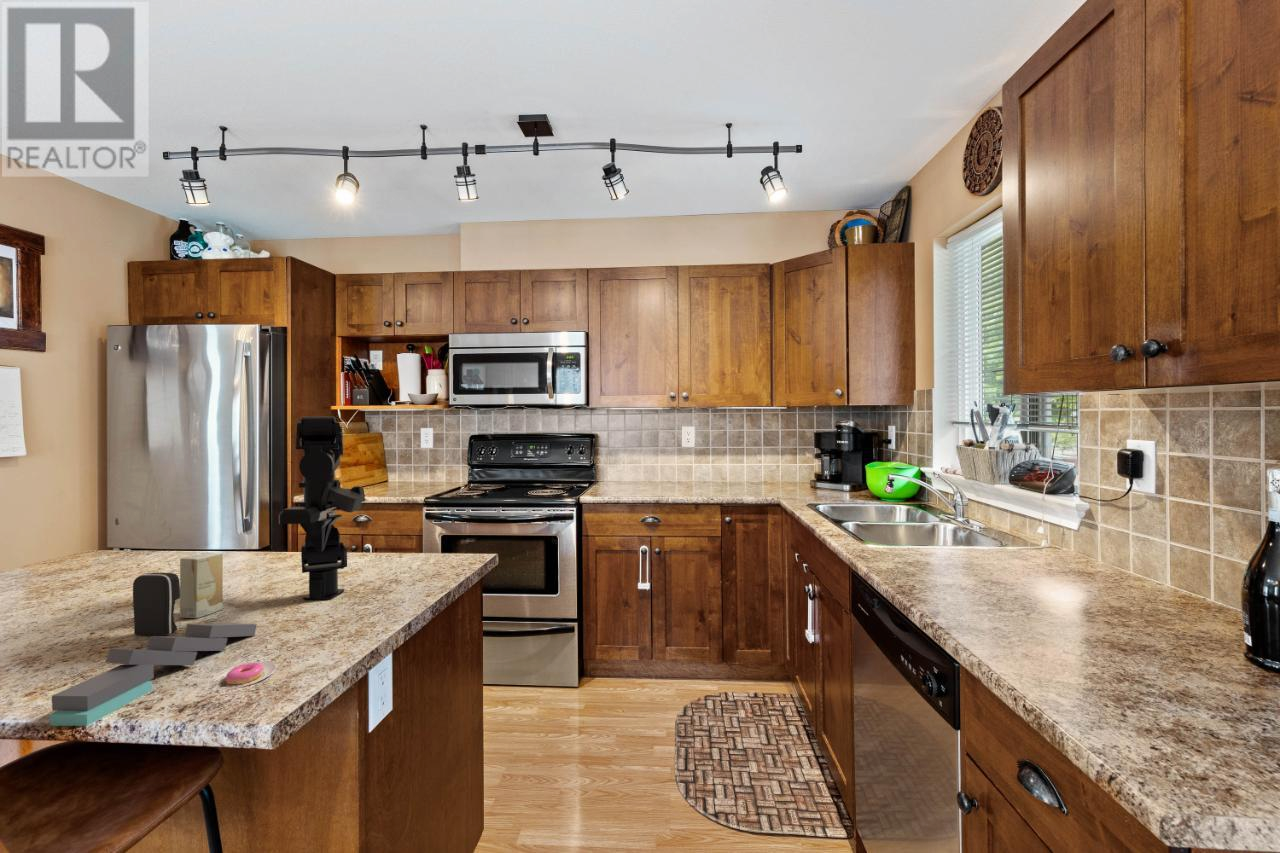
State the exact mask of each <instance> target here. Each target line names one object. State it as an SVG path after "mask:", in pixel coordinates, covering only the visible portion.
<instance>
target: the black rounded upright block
mask: <svg viewBox="0 0 1280 853" xmlns="http://www.w3.org/2000/svg"><path fill="white" fill-rule="evenodd" d="M178 599H179V600H180V577H179V576H178V575H177V574H176V573H173V572H150V573H146V574H142V575H138V576H137V577H136V578H134V580H133V583H132V605H133V607H132V609H133V628H134V631H133V635H135V636H147V635H157V636H170V635H171V634H172V633H175V632H176V631H177V630H178V628H177V627H178V626H177V625H176V622H175V616H174V614H175V604H176V601H177V600H178Z"/></svg>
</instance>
